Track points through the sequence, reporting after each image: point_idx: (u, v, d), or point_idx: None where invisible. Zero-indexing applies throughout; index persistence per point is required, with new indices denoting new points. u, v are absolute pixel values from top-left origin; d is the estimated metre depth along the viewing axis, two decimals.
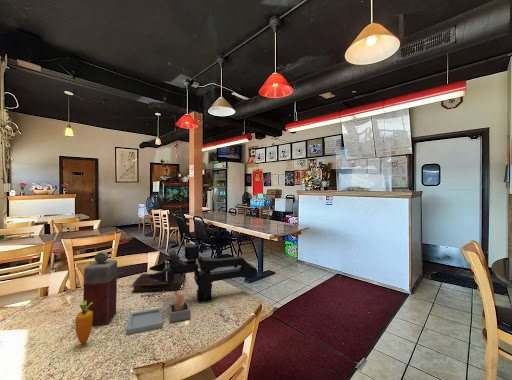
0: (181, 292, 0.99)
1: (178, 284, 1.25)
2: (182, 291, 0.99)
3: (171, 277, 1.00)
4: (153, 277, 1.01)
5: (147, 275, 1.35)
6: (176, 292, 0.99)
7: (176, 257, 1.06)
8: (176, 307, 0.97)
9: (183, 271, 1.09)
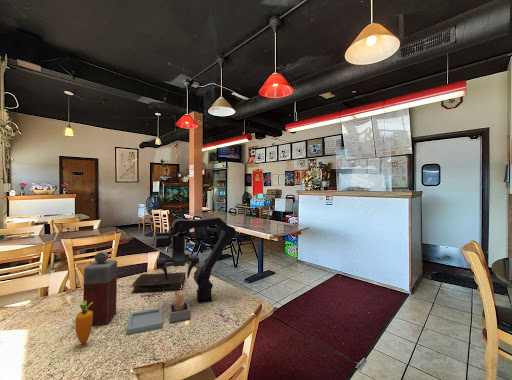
0: (181, 292, 0.99)
1: (178, 284, 1.25)
2: (182, 291, 0.99)
3: None
4: None
5: (147, 275, 1.34)
6: (176, 292, 0.99)
7: None
8: (176, 307, 0.97)
9: None
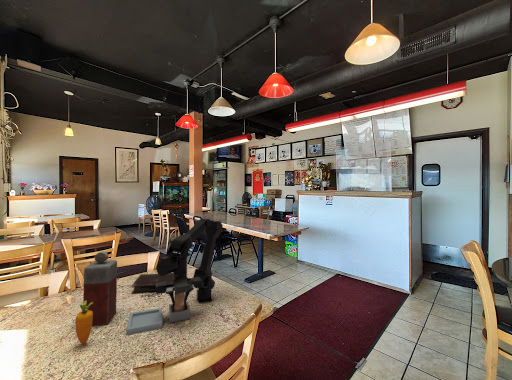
0: (181, 292, 0.99)
1: None
2: None
3: None
4: None
5: (146, 275, 1.34)
6: None
7: (192, 282, 0.95)
8: (176, 307, 0.97)
9: None
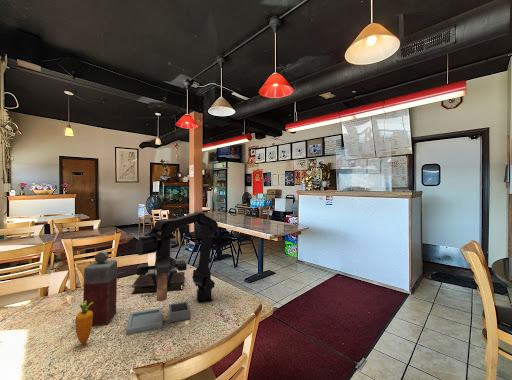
0: (164, 275, 0.96)
1: (179, 284, 1.26)
2: (165, 274, 0.97)
3: (185, 263, 1.00)
4: None
5: (146, 276, 1.34)
6: (159, 275, 0.96)
7: (174, 263, 0.92)
8: (158, 290, 0.94)
9: None
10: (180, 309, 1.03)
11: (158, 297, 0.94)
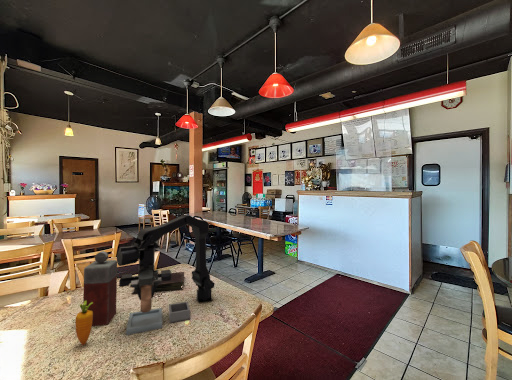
0: (148, 285, 0.94)
1: (179, 283, 1.26)
2: None
3: None
4: None
5: None
6: None
7: (158, 274, 0.90)
8: (142, 301, 0.92)
9: None
10: (180, 309, 1.03)
11: (142, 308, 0.92)
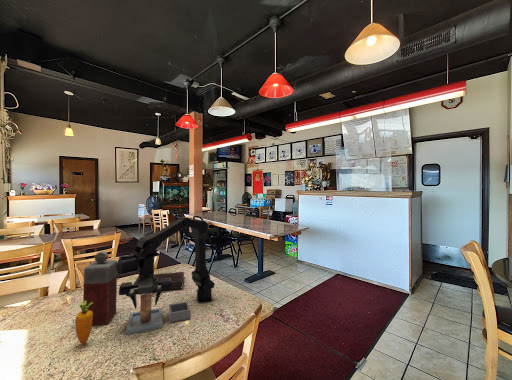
0: (148, 296, 0.94)
1: (180, 283, 1.26)
2: (148, 295, 0.94)
3: (170, 281, 0.98)
4: (157, 299, 0.96)
5: None
6: (142, 296, 0.94)
7: (157, 283, 0.90)
8: (142, 312, 0.92)
9: None
10: (180, 309, 1.03)
11: (141, 319, 0.92)
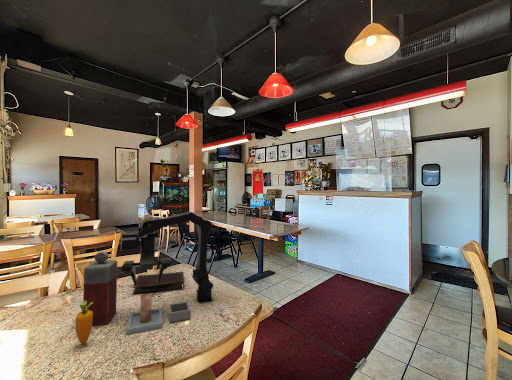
0: (147, 296, 0.94)
1: (180, 283, 1.26)
2: (148, 295, 0.94)
3: None
4: None
5: (145, 276, 1.33)
6: (142, 296, 0.94)
7: None
8: (142, 312, 0.92)
9: None
10: (180, 309, 1.03)
11: (141, 319, 0.92)
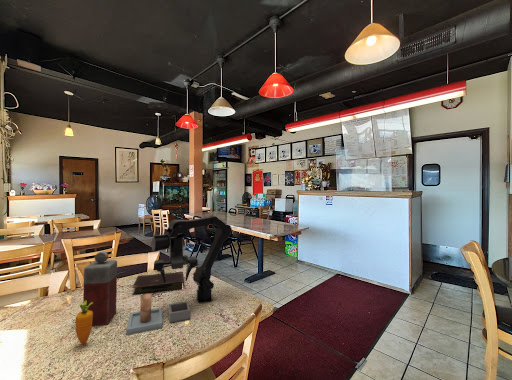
0: (147, 296, 0.94)
1: (180, 283, 1.26)
2: (148, 295, 0.94)
3: None
4: None
5: (144, 276, 1.33)
6: (142, 296, 0.94)
7: (187, 259, 1.02)
8: (142, 312, 0.92)
9: None
10: (180, 309, 1.03)
11: (141, 319, 0.92)
